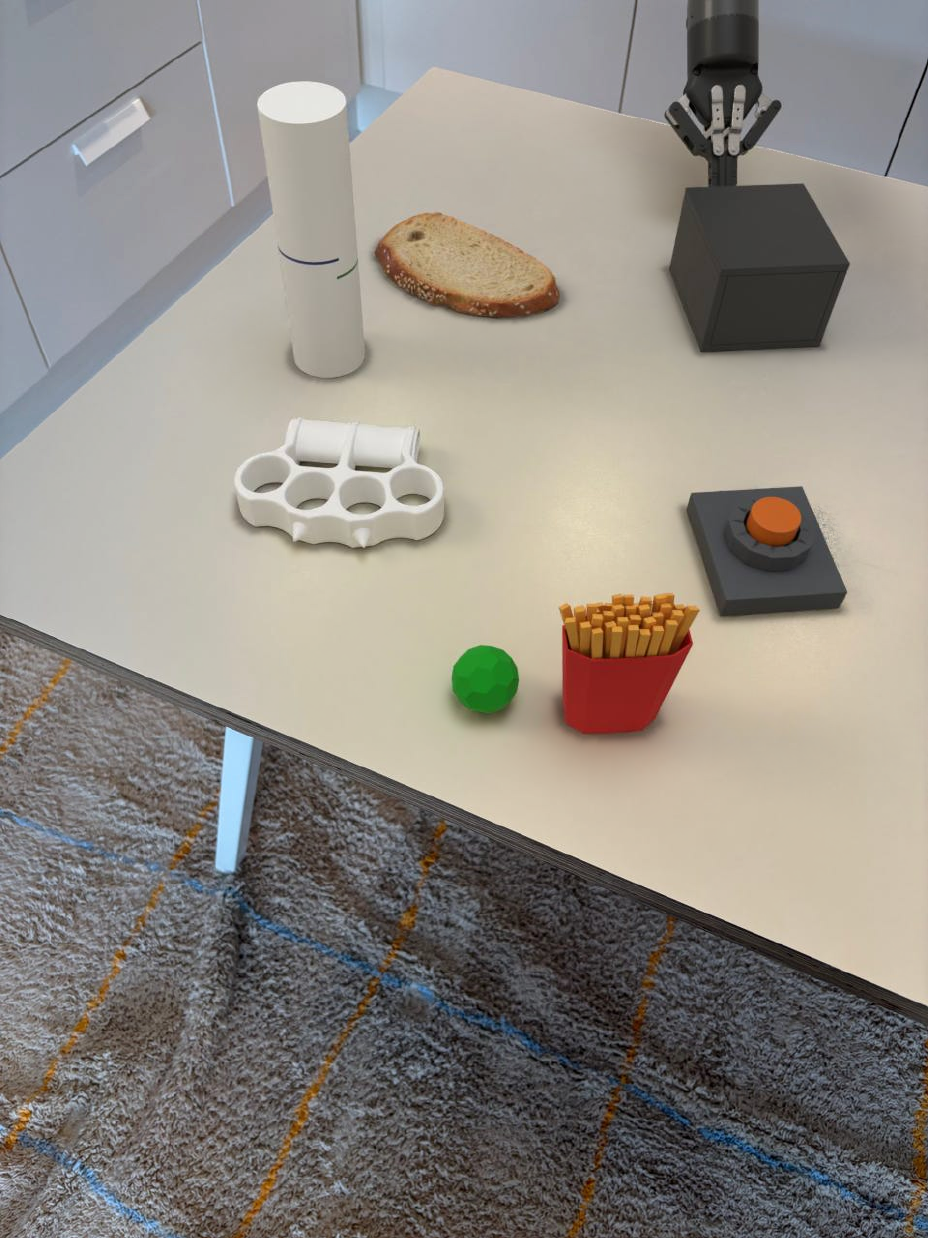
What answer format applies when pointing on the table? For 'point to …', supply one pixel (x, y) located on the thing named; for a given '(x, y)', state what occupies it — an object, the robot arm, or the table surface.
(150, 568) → the table surface
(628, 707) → the french fries
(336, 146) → the cylindrical container
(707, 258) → the dark grey paneled cube
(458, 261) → the bread slice
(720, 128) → the robot arm
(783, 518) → the button
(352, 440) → the knuckle duster
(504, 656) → the polyhedron
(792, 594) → the control block
